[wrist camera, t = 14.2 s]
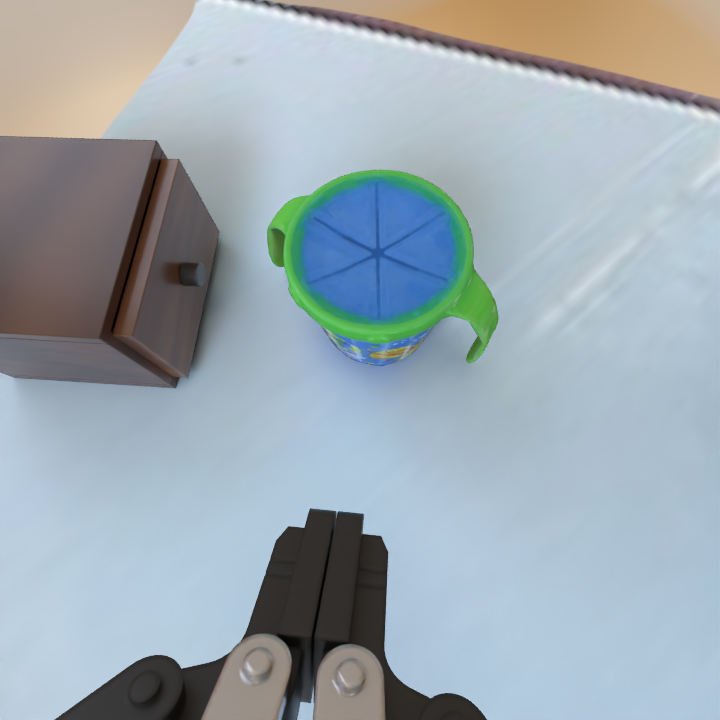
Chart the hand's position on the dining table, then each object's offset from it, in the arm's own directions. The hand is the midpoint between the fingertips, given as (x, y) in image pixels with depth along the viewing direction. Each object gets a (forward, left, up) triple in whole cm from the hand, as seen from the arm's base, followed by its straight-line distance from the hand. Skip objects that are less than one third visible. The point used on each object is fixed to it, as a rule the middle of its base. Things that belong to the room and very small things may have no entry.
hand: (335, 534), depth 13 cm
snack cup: (-13, -7, -18) cm, 23 cm away
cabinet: (-3, -25, -18) cm, 31 cm away
